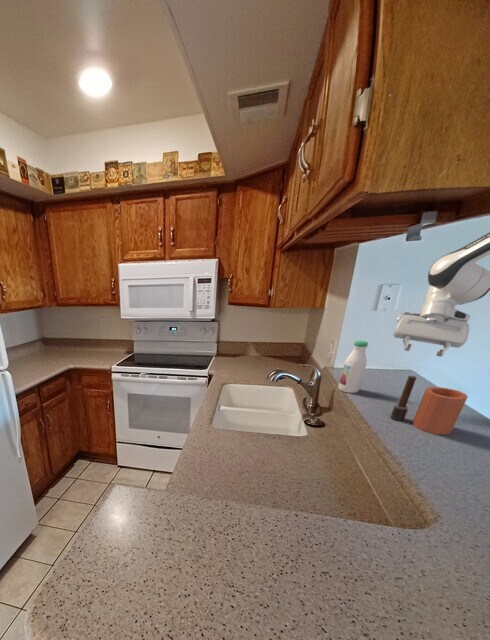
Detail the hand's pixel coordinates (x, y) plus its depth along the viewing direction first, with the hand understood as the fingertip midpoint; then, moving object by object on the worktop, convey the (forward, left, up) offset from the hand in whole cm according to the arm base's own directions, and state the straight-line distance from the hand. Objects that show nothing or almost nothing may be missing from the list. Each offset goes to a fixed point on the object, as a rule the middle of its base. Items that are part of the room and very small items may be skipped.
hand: (422, 352), depth 111 cm
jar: (-5, +15, -20) cm, 26 cm away
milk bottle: (+17, -13, -21) cm, 30 cm away
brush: (+4, +11, -20) cm, 24 cm away
